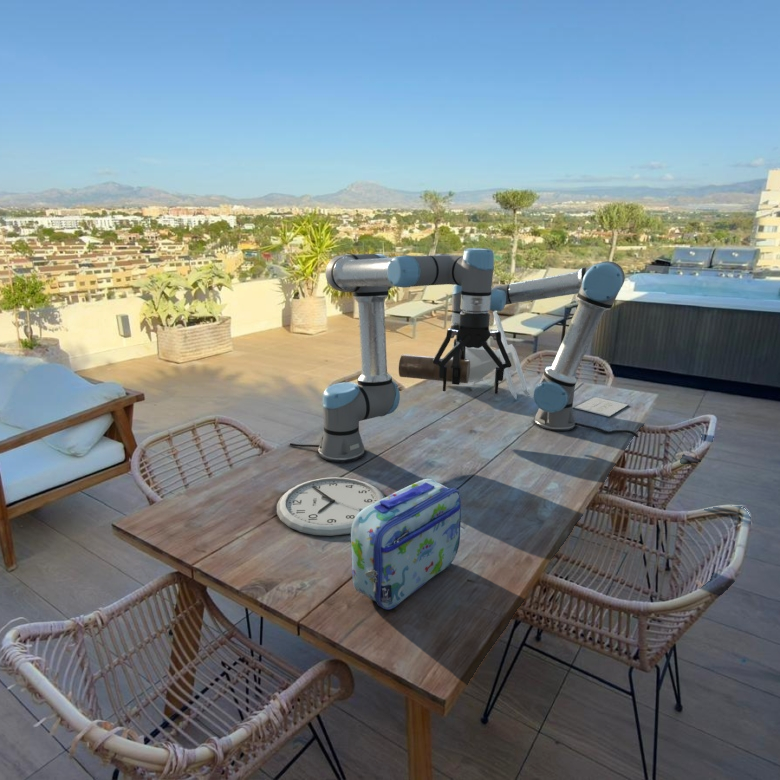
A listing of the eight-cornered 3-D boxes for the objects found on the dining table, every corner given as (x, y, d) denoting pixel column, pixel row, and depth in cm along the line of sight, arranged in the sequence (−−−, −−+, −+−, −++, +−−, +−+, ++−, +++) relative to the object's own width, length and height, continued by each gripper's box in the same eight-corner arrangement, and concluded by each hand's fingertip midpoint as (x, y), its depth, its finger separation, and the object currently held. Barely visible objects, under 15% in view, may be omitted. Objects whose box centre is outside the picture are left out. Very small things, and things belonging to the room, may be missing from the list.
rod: (469, 379, 207) (470, 357, 205) (466, 386, 199) (467, 363, 197) (404, 373, 215) (404, 352, 212) (398, 379, 207) (398, 357, 204)
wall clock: (392, 527, 129) (268, 531, 127) (391, 533, 130) (269, 537, 127) (383, 473, 158) (282, 475, 155) (383, 478, 158) (282, 480, 156)
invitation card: (608, 416, 214) (573, 407, 224) (608, 416, 214) (573, 408, 224) (628, 404, 229) (594, 396, 238) (628, 405, 229) (594, 397, 238)
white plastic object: (461, 429, 252) (437, 405, 227) (444, 352, 274) (420, 323, 250) (535, 404, 240) (518, 377, 215) (510, 326, 262) (492, 293, 237)
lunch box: (380, 623, 100) (381, 528, 94) (344, 596, 108) (343, 505, 101) (464, 565, 118) (470, 482, 112) (428, 545, 125) (432, 466, 119)
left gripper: (425, 311, 131) (422, 392, 137) (527, 315, 128) (519, 397, 134) (426, 307, 138) (423, 384, 144) (523, 310, 135) (516, 389, 142)
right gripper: (456, 318, 209) (453, 373, 215) (445, 327, 189) (443, 387, 195) (475, 319, 206) (471, 374, 213) (466, 329, 187) (463, 389, 193)
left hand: (469, 391), depth 139 cm, fingers open, 13 cm apart
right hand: (457, 380), depth 204 cm, fingers closed on rod, 9 cm apart
